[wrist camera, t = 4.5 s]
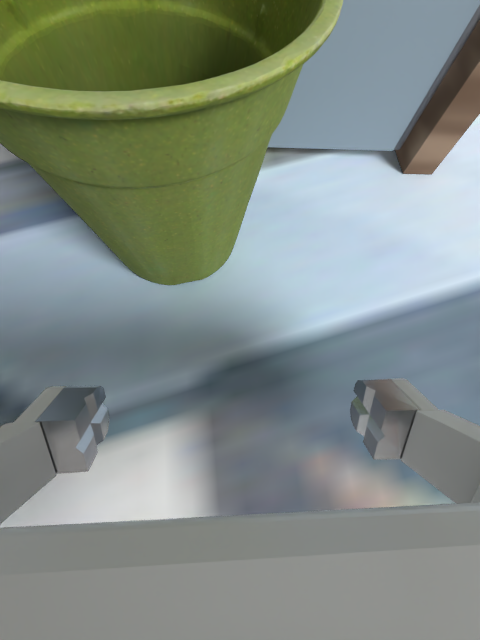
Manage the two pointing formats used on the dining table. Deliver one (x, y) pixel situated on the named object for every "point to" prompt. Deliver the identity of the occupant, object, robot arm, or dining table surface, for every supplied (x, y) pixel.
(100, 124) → the plant pot
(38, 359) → the dining table surface
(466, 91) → the door frame
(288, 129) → the door
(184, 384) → the dining table surface
